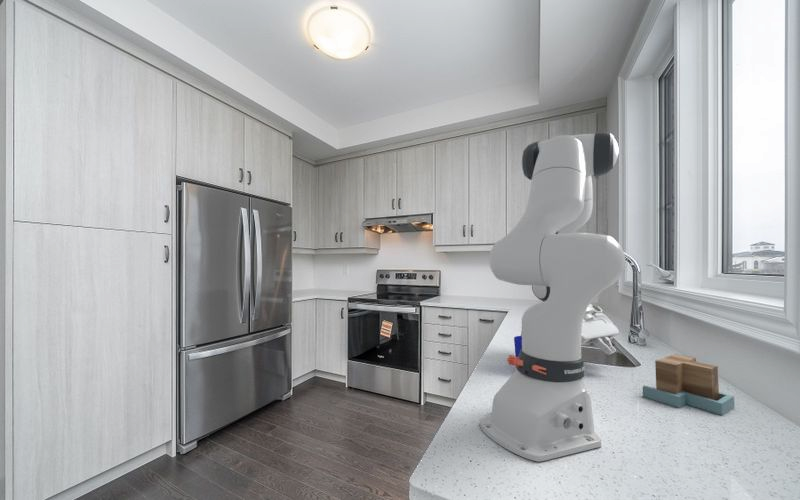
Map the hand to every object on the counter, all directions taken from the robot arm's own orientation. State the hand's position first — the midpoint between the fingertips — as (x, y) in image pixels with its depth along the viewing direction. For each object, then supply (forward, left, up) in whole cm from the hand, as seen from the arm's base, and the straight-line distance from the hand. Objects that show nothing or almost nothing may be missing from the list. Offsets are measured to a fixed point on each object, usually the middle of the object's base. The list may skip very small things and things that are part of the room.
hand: (612, 353), depth 89 cm
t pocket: (0, -17, -7) cm, 18 cm away
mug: (-18, +12, -7) cm, 23 cm away
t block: (0, -17, -7) cm, 18 cm away
